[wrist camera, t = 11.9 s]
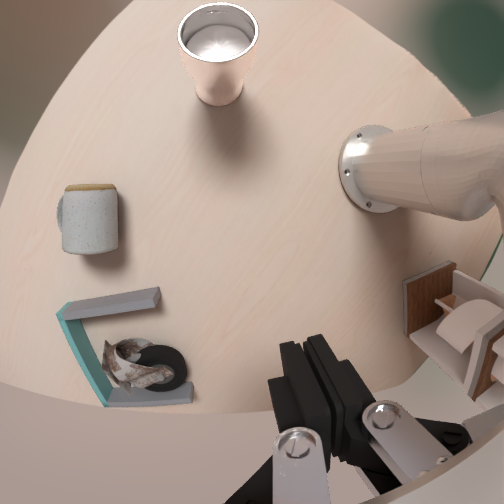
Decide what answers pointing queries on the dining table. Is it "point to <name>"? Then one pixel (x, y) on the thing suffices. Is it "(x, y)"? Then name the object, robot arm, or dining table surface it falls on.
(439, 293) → the white shelf stand
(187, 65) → the beer glass
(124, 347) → the caster wheel
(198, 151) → the dining table surface
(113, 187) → the ceramic mug
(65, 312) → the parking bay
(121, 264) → the dining table surface
